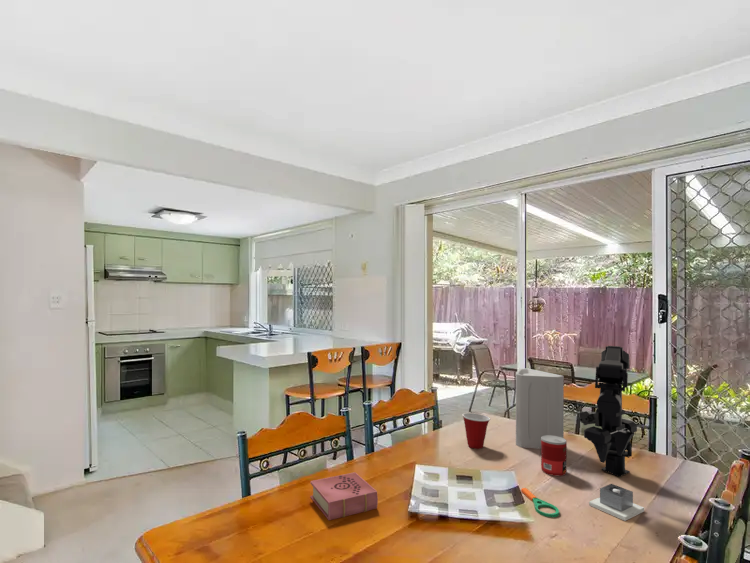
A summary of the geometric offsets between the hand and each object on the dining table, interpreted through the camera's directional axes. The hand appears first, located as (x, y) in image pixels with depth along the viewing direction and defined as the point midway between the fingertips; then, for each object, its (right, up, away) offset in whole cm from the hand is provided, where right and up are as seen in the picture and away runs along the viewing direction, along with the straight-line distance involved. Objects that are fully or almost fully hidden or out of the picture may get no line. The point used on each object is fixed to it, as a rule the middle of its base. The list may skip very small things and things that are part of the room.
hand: (610, 458), depth 129 cm
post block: (-2, -11, -7) cm, 13 cm away
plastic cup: (-30, -12, +42) cm, 53 cm away
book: (-79, -11, -5) cm, 80 cm away
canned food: (-10, -12, +18) cm, 24 cm away
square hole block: (-2, -10, -6) cm, 12 cm away
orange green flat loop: (-23, -12, -4) cm, 26 cm away
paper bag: (-7, -13, +46) cm, 48 cm away
